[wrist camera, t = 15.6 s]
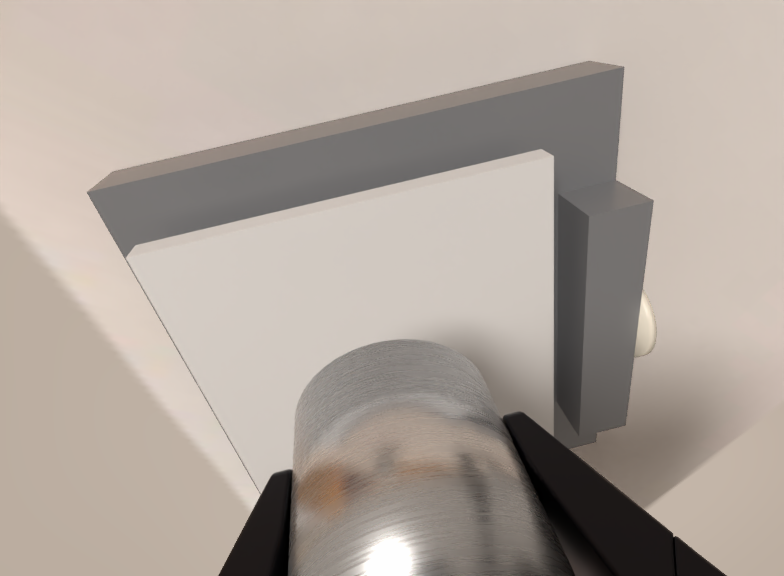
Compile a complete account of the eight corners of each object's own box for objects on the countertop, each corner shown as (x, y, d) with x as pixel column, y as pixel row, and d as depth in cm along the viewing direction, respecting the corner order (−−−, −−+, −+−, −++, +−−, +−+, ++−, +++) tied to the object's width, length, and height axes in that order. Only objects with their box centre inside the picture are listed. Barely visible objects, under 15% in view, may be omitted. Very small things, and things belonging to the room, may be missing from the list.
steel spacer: (480, 317, 9) (622, 575, 5) (494, 455, 12) (599, 711, 7) (267, 369, 9) (226, 680, 5) (324, 497, 11) (331, 783, 7)
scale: (600, 58, 15) (701, 73, 11) (582, 409, 24) (635, 486, 20) (112, 171, 15) (40, 228, 11) (279, 487, 24) (273, 580, 20)
